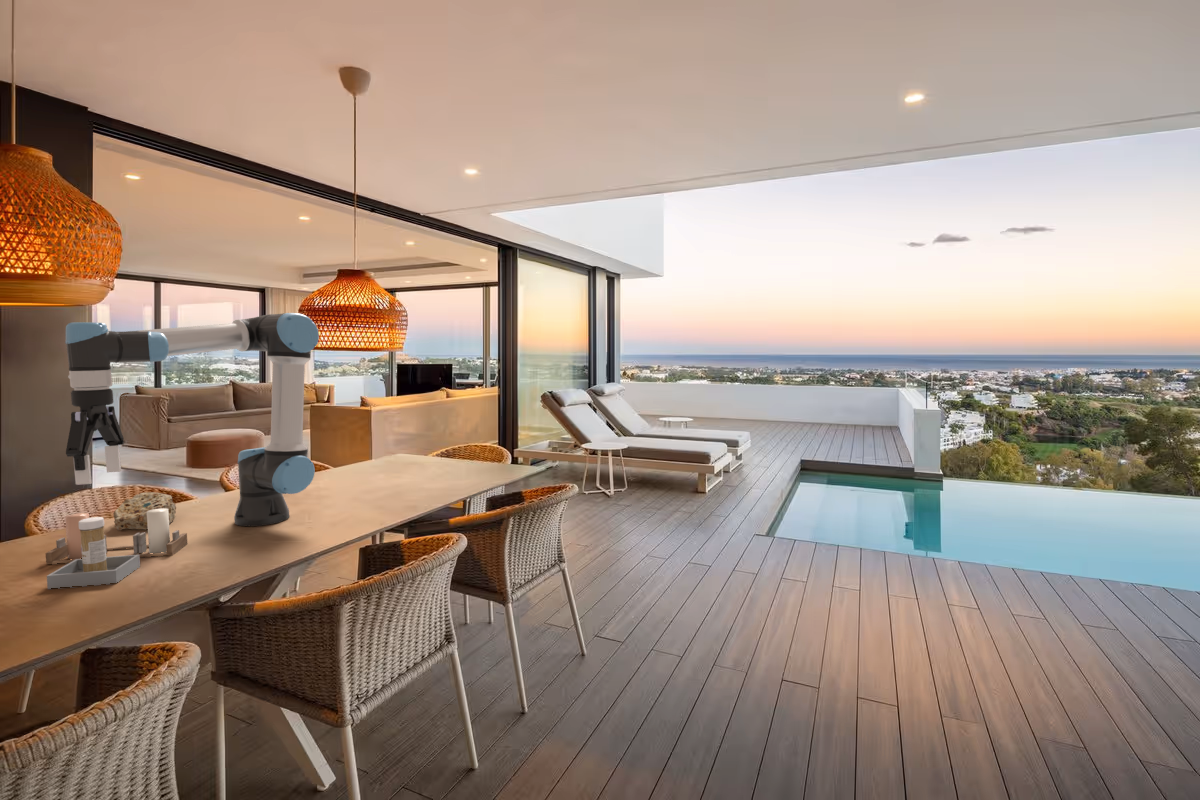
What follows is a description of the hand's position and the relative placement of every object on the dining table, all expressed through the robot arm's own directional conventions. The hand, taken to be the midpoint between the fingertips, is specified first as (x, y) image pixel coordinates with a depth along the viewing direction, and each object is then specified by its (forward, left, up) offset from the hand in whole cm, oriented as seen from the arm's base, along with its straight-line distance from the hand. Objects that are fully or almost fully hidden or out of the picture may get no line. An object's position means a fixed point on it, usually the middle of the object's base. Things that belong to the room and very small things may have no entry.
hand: (99, 477), depth 143 cm
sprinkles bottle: (+1, +3, -23) cm, 23 cm away
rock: (+10, -46, -24) cm, 53 cm away
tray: (+1, +3, -23) cm, 23 cm away
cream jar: (-5, -15, -23) cm, 28 cm away
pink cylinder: (+13, -15, -23) cm, 30 cm away
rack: (+4, -15, -23) cm, 28 cm away
